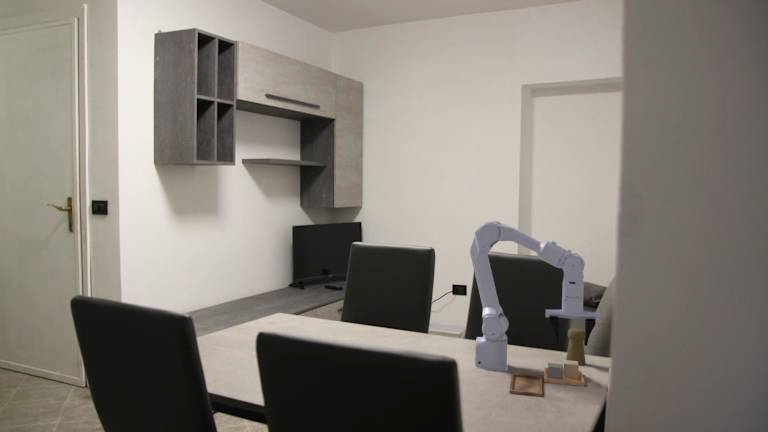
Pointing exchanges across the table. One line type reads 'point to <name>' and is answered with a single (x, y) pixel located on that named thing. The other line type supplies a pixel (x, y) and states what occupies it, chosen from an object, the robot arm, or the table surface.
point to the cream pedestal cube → (570, 369)
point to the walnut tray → (526, 385)
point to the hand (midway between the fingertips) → (571, 343)
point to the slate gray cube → (555, 371)
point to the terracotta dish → (564, 379)
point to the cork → (576, 346)
